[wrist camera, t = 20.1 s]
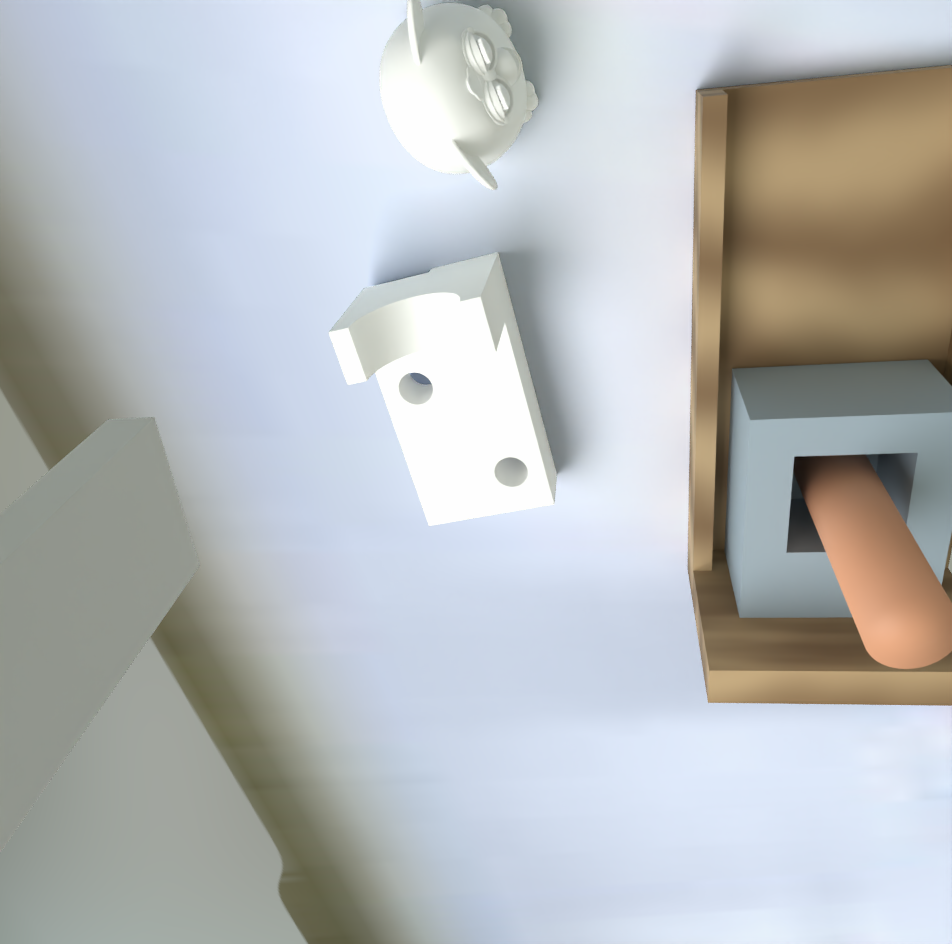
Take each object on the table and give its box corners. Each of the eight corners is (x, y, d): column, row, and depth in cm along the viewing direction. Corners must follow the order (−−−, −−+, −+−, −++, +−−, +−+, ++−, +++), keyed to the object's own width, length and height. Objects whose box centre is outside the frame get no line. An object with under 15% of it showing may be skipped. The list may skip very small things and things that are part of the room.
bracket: (368, 282, 45) (328, 332, 38) (498, 250, 43) (480, 296, 37) (439, 493, 51) (415, 567, 44) (557, 472, 49) (550, 546, 42)
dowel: (791, 425, 43) (868, 597, 31) (862, 422, 43) (969, 596, 31) (786, 484, 45) (858, 669, 33) (855, 482, 44) (954, 669, 32)
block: (732, 368, 43) (750, 420, 38) (927, 359, 42) (974, 411, 37) (724, 550, 48) (739, 617, 43) (898, 548, 47) (935, 617, 42)
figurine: (558, 142, 40) (551, 167, 35) (436, 196, 42) (411, 228, 36) (490, -39, 37) (470, -45, 31) (361, 28, 39) (320, 35, 33)
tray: (695, 89, 38) (727, 122, 29) (1012, 58, 36) (1158, 82, 27) (687, 568, 51) (708, 702, 41) (923, 566, 49) (1002, 706, 39)
